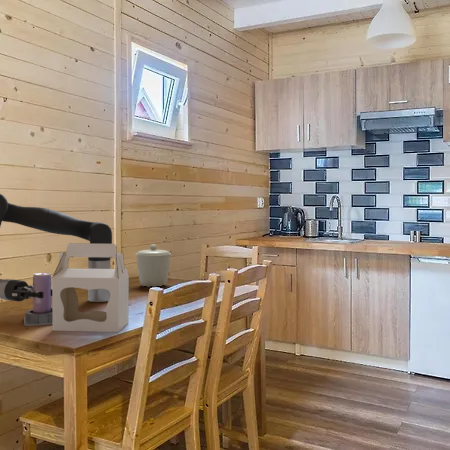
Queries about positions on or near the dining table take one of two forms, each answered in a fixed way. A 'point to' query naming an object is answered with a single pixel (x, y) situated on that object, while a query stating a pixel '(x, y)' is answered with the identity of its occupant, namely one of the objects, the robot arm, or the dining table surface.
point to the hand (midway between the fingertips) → (48, 293)
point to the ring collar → (37, 318)
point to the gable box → (90, 279)
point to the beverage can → (43, 285)
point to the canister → (153, 266)
